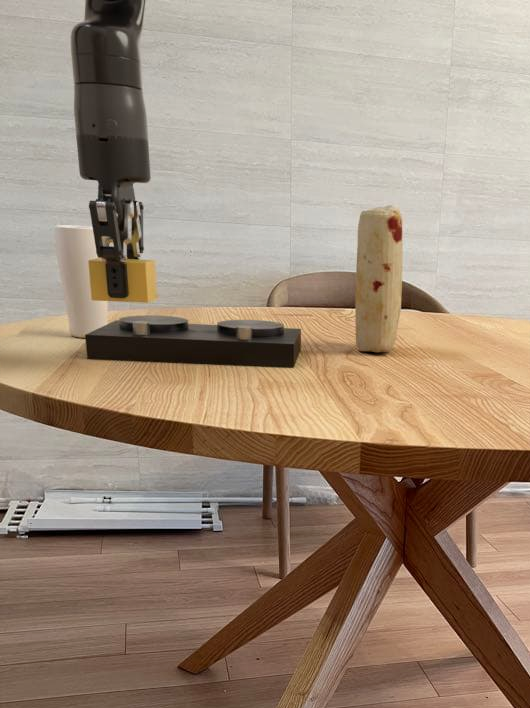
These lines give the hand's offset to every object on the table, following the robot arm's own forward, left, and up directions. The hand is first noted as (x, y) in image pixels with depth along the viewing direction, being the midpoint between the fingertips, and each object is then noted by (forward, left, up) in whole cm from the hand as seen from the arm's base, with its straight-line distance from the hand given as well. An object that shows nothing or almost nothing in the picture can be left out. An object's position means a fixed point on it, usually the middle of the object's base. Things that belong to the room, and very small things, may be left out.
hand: (124, 294), depth 97 cm
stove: (+6, +12, -9) cm, 16 cm away
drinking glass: (-12, +23, -9) cm, 27 cm away
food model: (+30, +21, -9) cm, 38 cm away
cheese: (0, 0, -1) cm, 1 cm away
